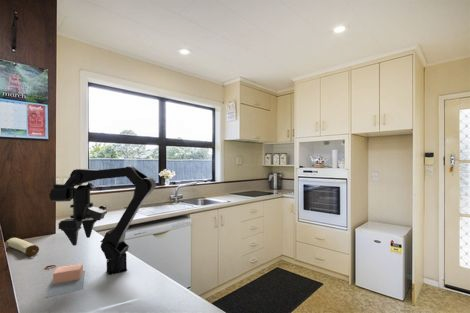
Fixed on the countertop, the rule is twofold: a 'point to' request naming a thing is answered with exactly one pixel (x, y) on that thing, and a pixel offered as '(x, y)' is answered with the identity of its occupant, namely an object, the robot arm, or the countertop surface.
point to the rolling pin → (23, 246)
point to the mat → (65, 286)
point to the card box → (68, 273)
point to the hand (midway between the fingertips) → (81, 241)
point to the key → (50, 267)
